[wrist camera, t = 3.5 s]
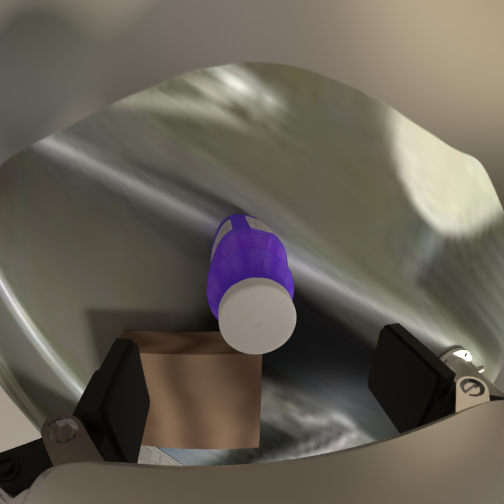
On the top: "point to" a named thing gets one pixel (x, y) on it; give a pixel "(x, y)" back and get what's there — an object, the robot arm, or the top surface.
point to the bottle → (250, 286)
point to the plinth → (199, 391)
